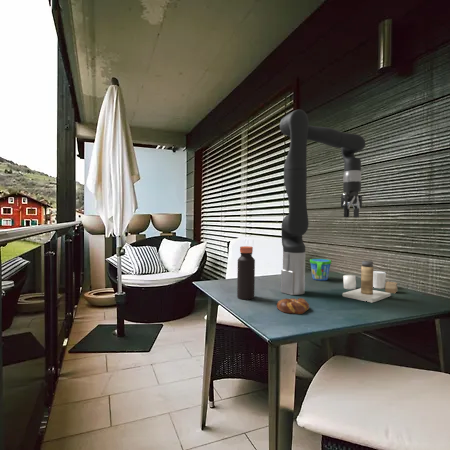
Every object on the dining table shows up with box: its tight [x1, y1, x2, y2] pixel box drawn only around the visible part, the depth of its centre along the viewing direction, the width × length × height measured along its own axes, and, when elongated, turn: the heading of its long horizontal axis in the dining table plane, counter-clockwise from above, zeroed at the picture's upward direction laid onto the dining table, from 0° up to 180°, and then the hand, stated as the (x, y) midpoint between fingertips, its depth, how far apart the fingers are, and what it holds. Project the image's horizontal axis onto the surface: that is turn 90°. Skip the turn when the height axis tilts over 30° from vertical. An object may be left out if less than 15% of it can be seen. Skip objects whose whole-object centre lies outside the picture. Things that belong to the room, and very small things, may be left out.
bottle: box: [236, 245, 256, 301], centre depth 120 cm, size 7×7×20 cm
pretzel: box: [276, 297, 310, 315], centre depth 106 cm, size 12×11×4 cm
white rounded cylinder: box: [342, 274, 357, 290], centre depth 138 cm, size 5×5×6 cm
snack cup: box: [309, 258, 332, 282], centre depth 157 cm, size 16×10×10 cm
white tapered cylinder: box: [373, 270, 387, 289], centre depth 141 cm, size 7×7×7 cm
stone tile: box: [341, 287, 392, 304], centre depth 124 cm, size 16×12×1 cm
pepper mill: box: [360, 260, 374, 295], centre depth 124 cm, size 4×4×13 cm
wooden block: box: [384, 281, 398, 294], centre depth 132 cm, size 4×4×4 cm
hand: (351, 217), depth 138 cm, fingers open, 8 cm apart
